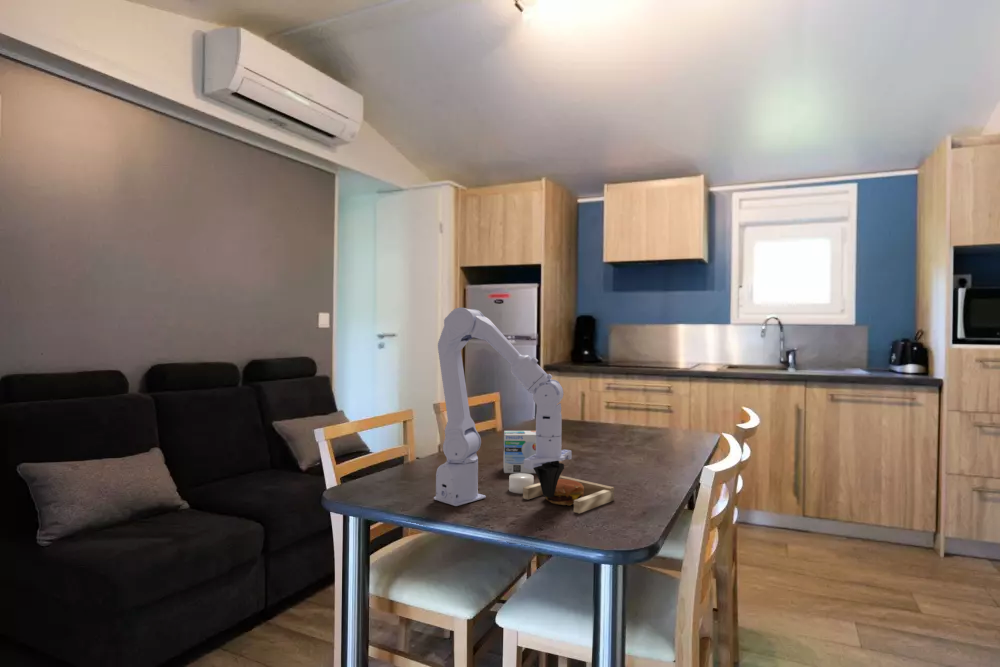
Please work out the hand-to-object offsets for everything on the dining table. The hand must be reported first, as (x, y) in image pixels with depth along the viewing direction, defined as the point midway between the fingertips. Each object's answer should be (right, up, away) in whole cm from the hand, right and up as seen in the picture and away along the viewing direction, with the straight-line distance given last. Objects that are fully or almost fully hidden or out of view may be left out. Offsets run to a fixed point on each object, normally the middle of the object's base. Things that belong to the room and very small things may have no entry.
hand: (548, 496), depth 125 cm
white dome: (-5, -2, +13) cm, 14 cm away
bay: (+5, -2, +5) cm, 8 cm away
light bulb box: (-4, -3, +33) cm, 33 cm away
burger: (+4, -3, +4) cm, 6 cm away
